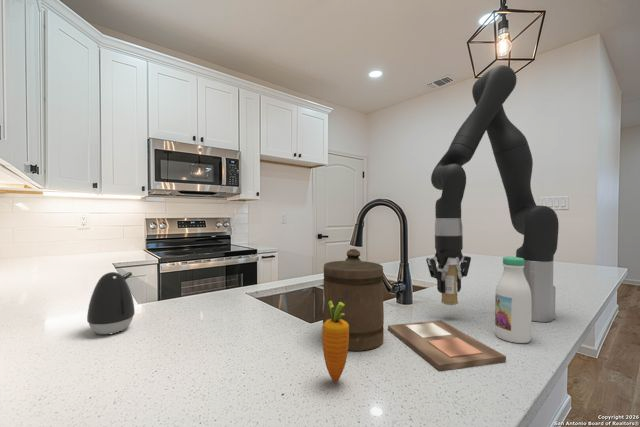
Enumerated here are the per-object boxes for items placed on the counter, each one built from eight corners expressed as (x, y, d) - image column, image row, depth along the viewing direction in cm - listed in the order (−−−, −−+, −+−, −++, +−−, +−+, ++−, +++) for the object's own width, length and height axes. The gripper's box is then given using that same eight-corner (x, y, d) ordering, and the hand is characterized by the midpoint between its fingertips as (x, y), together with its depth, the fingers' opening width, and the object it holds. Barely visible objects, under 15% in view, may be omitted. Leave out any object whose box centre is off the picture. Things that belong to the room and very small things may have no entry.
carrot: (320, 375, 60) (321, 297, 60) (346, 374, 60) (347, 296, 60) (323, 390, 55) (323, 305, 55) (351, 389, 55) (351, 304, 55)
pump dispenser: (144, 327, 84) (144, 270, 84) (103, 342, 74) (103, 278, 74) (119, 321, 88) (119, 267, 88) (78, 334, 79) (78, 274, 78)
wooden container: (349, 323, 88) (349, 244, 88) (395, 338, 77) (396, 249, 77) (310, 338, 77) (310, 249, 77) (357, 358, 67) (358, 255, 67)
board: (440, 324, 87) (440, 319, 87) (505, 361, 66) (506, 354, 66) (387, 329, 83) (387, 324, 83) (439, 371, 62) (439, 363, 62)
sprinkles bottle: (461, 303, 91) (460, 257, 91) (451, 306, 89) (451, 259, 89) (447, 300, 95) (446, 255, 95) (437, 302, 92) (437, 257, 92)
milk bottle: (525, 334, 81) (526, 256, 80) (535, 346, 73) (536, 260, 73) (492, 330, 83) (493, 254, 83) (498, 341, 76) (499, 259, 76)
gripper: (460, 232, 97) (461, 287, 97) (419, 233, 93) (420, 291, 94) (478, 233, 90) (479, 293, 90) (434, 235, 86) (435, 297, 86)
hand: (449, 291), depth 92 cm, fingers closed on sprinkles bottle, 4 cm apart
